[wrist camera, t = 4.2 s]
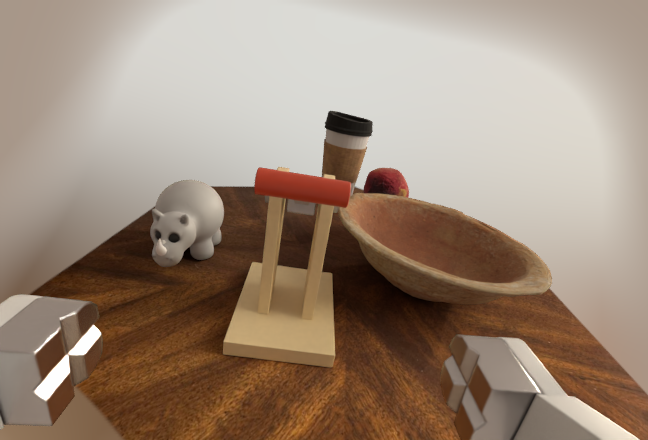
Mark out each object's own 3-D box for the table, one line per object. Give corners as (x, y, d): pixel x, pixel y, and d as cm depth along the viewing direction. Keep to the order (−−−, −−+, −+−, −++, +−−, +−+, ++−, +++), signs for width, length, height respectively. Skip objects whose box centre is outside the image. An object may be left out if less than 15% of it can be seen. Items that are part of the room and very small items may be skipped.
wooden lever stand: (332, 368, 28) (368, 217, 23) (222, 354, 28) (231, 196, 22) (330, 283, 39) (354, 167, 34) (251, 272, 39) (262, 152, 33)
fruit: (406, 213, 63) (418, 171, 60) (394, 226, 57) (407, 180, 54) (368, 200, 66) (377, 160, 63) (352, 211, 60) (362, 167, 57)
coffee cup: (314, 185, 69) (326, 108, 63) (355, 191, 70) (371, 116, 64) (313, 200, 62) (327, 114, 55) (359, 207, 62) (378, 123, 56)
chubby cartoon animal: (119, 286, 33) (111, 205, 30) (173, 231, 44) (171, 167, 40) (194, 297, 33) (195, 218, 30) (229, 239, 44) (232, 177, 41)
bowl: (575, 358, 34) (616, 293, 31) (347, 354, 30) (367, 278, 27) (460, 242, 56) (477, 196, 52) (316, 229, 51) (325, 179, 48)
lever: (347, 216, 18) (353, 171, 18) (251, 202, 18) (258, 156, 18) (328, 218, 30) (332, 191, 30) (271, 209, 30) (275, 182, 30)
